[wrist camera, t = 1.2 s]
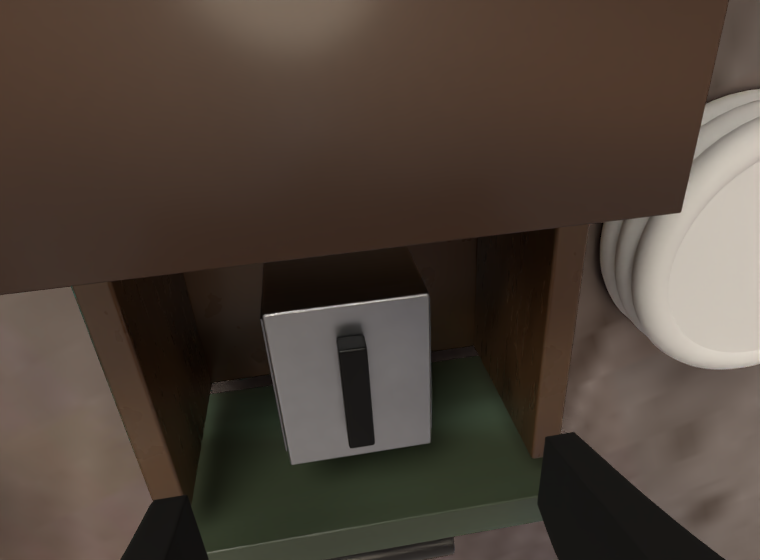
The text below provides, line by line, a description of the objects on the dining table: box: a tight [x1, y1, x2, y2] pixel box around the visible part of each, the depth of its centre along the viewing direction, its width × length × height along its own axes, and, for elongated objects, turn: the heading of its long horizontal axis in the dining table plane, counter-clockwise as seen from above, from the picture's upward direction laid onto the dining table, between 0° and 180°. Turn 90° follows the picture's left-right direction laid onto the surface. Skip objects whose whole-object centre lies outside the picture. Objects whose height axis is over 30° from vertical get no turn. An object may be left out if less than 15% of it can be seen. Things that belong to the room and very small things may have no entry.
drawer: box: [71, 224, 589, 560], centre depth 17 cm, size 18×12×7 cm
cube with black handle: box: [260, 246, 432, 465], centre depth 16 cm, size 5×4×5 cm
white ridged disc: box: [600, 89, 760, 370], centre depth 20 cm, size 10×10×4 cm
